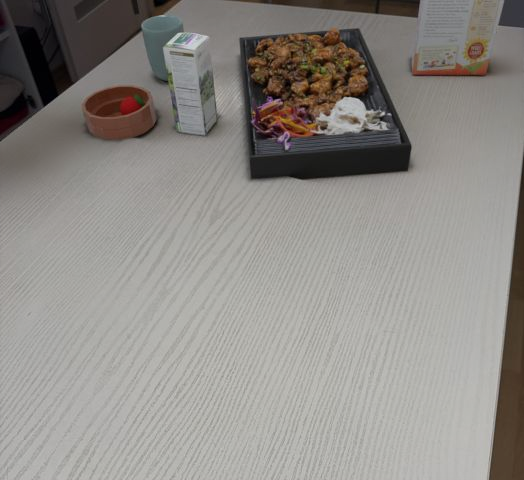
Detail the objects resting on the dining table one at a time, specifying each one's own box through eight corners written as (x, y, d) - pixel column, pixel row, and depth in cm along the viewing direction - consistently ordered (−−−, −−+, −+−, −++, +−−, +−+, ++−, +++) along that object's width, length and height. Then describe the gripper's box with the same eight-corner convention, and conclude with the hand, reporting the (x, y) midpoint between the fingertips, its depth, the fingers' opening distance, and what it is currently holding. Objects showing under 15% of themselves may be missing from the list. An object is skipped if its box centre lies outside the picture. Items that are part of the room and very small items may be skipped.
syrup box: (189, 117, 100) (175, 31, 88) (219, 120, 98) (209, 34, 87) (176, 132, 96) (160, 45, 85) (206, 136, 95) (194, 48, 84)
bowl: (75, 135, 97) (67, 110, 94) (117, 104, 104) (111, 80, 101) (129, 149, 93) (123, 124, 90) (169, 116, 100) (165, 92, 97)
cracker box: (482, 63, 108) (514, -67, 91) (485, 76, 104) (520, -56, 88) (410, 62, 109) (429, -65, 93) (410, 75, 106) (431, -55, 89)
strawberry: (111, 105, 96) (129, 87, 95) (121, 111, 99) (138, 94, 98) (126, 123, 96) (143, 105, 95) (135, 128, 100) (152, 111, 99)
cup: (144, 77, 111) (133, 23, 103) (175, 64, 114) (166, 11, 106) (166, 89, 107) (156, 34, 99) (197, 75, 110) (190, 21, 103)
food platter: (407, 170, 85) (418, 106, 77) (251, 183, 85) (246, 120, 77) (357, 50, 114) (362, -5, 106) (240, 60, 114) (236, 5, 106)
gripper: (-60, -154, 64) (11, 39, 81) (148, -173, 68) (175, 14, 85) (-55, -163, 69) (10, 21, 85) (139, -181, 73) (166, -2, 89)
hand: (92, 18), depth 85 cm, fingers open, 13 cm apart
